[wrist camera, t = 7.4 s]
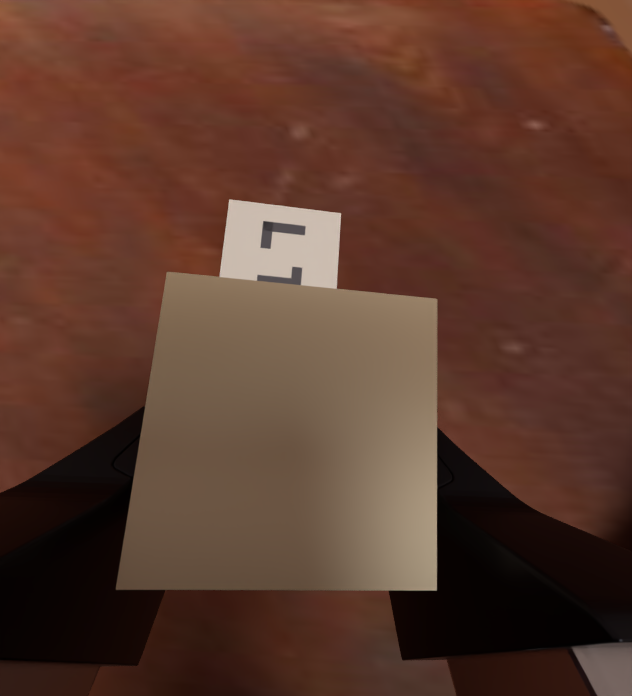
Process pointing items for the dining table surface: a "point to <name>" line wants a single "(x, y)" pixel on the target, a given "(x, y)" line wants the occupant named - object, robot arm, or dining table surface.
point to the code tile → (281, 244)
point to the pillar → (286, 441)
